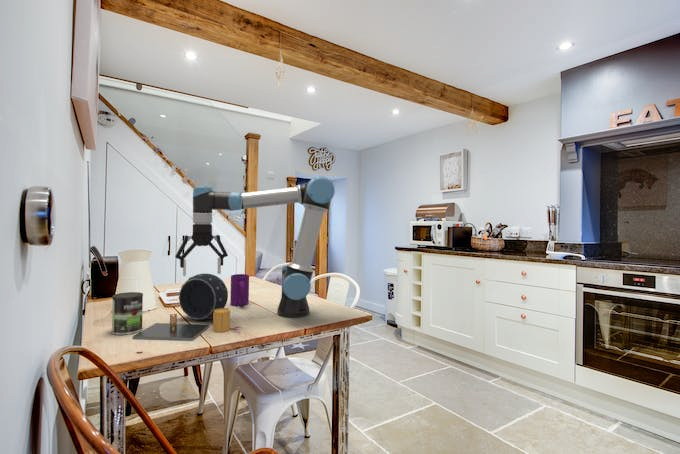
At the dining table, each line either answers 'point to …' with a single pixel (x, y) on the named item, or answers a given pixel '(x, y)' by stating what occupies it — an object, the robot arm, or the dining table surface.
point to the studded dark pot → (202, 296)
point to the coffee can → (127, 313)
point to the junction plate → (172, 331)
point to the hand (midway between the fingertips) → (202, 274)
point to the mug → (239, 290)
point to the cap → (221, 320)
